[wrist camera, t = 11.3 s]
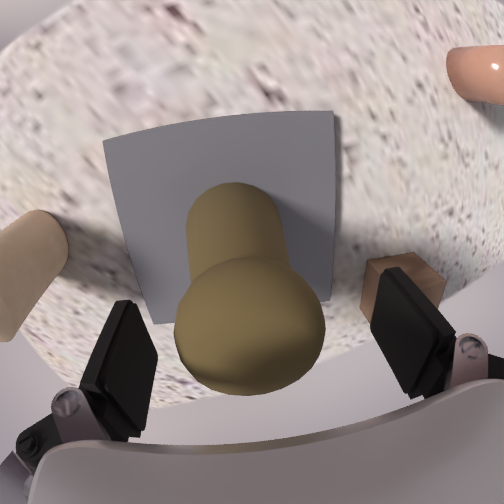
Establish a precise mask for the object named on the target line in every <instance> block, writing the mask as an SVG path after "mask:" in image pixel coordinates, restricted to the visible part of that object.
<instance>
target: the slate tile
mask: <svg viewBox="0 0 504 504" xmlns="http://www.w3.org/2000/svg"><path fill="white" fill-rule="evenodd" d="M103 146H104V152H105V158H106V163H107V168H108V173H109V178H110V183H111V187H112V192H113V196H114V200H115V204H116V208H117V212H118V216H119V220H120V224H121V227H122V231H123V235H124V238H125V242H126V245H127V248H128V252H129V255H130V258H131V261H132V265H133V268H134V271H135V274H136V277H137V280H138V283H139V286H140V289H141V291H142V294H143V297H144V300H145V303H146V305H147V308H148V311H149V313H150V316H151V318H152V321H153V323H154V324H165V323H175V320H176V313H177V308H178V304H179V302H180V301H181V299H182V298H183V296H184V294H185V293H186V291H187V290H188V288H189V286H190V285H191V279H190V270H189V259H188V248H187V236H186V222H187V217H188V212H189V210H190V209H191V207H192V205H193V204H194V202H195V200H196V199H197V198H198V197H199V196H201V195H202V194H203V193H204V192H205V191H206V190H208V189H210V188H212V187H215V186H217V185H219V184H222V183H232V182H241V183H245V184H249V185H253V186H255V187H257V188H258V189H260V190H261V191H263V192H265V193H266V194H267V195H268V196H269V197H270V199H271V200H272V201H273V202H274V204H275V205H276V207H277V210H278V213H279V216H280V219H281V224H282V228H283V233H284V237H285V242H286V247H287V251H288V256H289V261H290V266H291V269H293V270H295V271H296V272H297V273H298V274H299V275H301V276H302V277H303V278H304V279H305V281H306V282H307V283H308V284H309V286H310V287H311V288H312V289H313V290H314V292H315V293H316V295H317V297H318V299H319V301H320V302H324V301H329V300H330V297H331V285H332V271H333V255H334V233H335V135H334V114H333V111H284V112H266V113H252V114H241V115H232V116H223V117H215V118H208V119H201V120H194V121H188V122H182V123H177V124H171V125H166V126H161V127H156V128H151V129H147V130H142V131H138V132H134V133H130V134H126V135H122V136H118V137H114V138H111V139H107V140H104V141H103Z"/></svg>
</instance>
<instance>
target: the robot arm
mask: <svg viewBox="0 0 504 504" xmlns="http://www.w3.org/2000/svg"><path fill="white" fill-rule="evenodd" d="M370 329H371V332H372V334H373V336H374V338H375V340H376V341H377V343H378V345H379V347H380V349H381V351H382V352H383V354H384V356H385V358H386V360H387V362H388V363H389V365H390V367H391V369H392V371H393V373H394V374H395V377H396V379H397V380H398V382H399V384H400V386H401V388H402V390H403V392H404V393H405V394H407V393H408V395H409V397H410V399H413V398H416V397H418V396H421V395H423V397H424V400H422V401H420V402H417V403H414V404H412V405H409V406H406V407H404V408H401V409H398V410H395V411H393V412H390V413H387V414H384V415H381V416H378V417H374V418H371V419H368V420H365V421H361V422H357V423H354V424H350V425H347V426H342V427H339V428H334V429H330V430H326V431H321V432H316V433H312V434H307V435H301V436H296V437H289V438H283V439H276V440H268V441H261V442H250V443H239V444H224V445H159V444H141V443H130V442H128V438H129V437H138V438H140V435H141V431H144V430H145V427H146V419H147V414H148V409H149V403H150V397H151V392H152V387H153V381H154V376H155V371H156V366H157V361H158V354H157V351H156V349H155V347H154V344H153V342H152V340H151V338H150V335H149V333H148V331H147V328H146V326H145V323H144V321H143V319H142V316H141V314H140V311H139V309H138V306H137V304H135V303H133V302H132V301H131V300H121V301H116V302H115V304H114V306H113V308H112V310H111V312H110V314H109V316H108V318H107V321H106V323H105V325H104V327H103V329H102V331H101V334H100V336H99V338H98V340H97V343H96V345H95V347H94V350H93V352H92V354H91V357H90V359H89V361H88V364H87V366H86V369H85V371H84V374H83V376H82V379H81V382H80V386H79V388H75V387H67V388H65V389H62V390H61V391H59V392H58V393H57V394H56V395H55V397H54V398H53V401H52V404H51V410H52V413H51V414H50V415H48V416H47V417H45V418H43V419H42V420H40V421H39V422H37V423H36V424H34V425H32V426H31V427H29V428H27V429H26V430H24V431H23V432H22V433H20V435H19V436H18V438H17V441H16V453H15V452H14V451H12V452H11V453H10V454H9V455H8V456H7V458H6V459H5V460H4V461H3V462H2V463H1V465H0V504H504V358H500V357H497V356H494V355H491V354H488V349H487V346H486V344H485V342H484V341H483V340H482V339H481V338H480V337H478V336H477V335H474V334H468V333H466V334H462V335H460V336H459V337H458V338H456V336H455V333H456V331H455V330H454V329H453V327H452V326H451V325H450V324H449V322H448V321H447V320H446V319H445V318H444V317H443V315H442V314H441V313H440V312H439V310H438V309H437V308H436V307H435V306H434V305H433V303H432V302H431V301H430V300H429V299H428V298H427V297H426V295H425V294H424V293H423V292H422V291H421V290H420V289H419V288H418V286H417V285H416V284H415V283H414V282H413V281H412V280H411V279H410V278H409V277H408V275H407V274H406V273H405V272H404V271H403V270H402V269H401V268H400V267H392V268H386V269H385V270H384V272H383V273H381V275H380V279H379V284H378V290H377V295H376V300H375V305H374V310H373V314H372V319H371V323H370Z"/></svg>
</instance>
